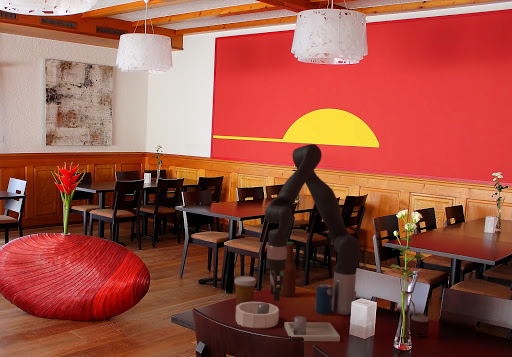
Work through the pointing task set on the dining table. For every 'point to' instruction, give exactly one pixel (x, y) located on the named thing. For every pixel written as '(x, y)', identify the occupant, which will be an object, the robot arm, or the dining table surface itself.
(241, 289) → the disposable coffee cup
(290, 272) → the bottle
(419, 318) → the mate gourd
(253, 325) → the bowl
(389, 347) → the dining table surface
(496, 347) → the dining table surface
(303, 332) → the grey cylinder
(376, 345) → the dining table surface
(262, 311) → the grey cylinder
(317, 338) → the tray
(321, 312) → the soda can
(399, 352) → the dining table surface
